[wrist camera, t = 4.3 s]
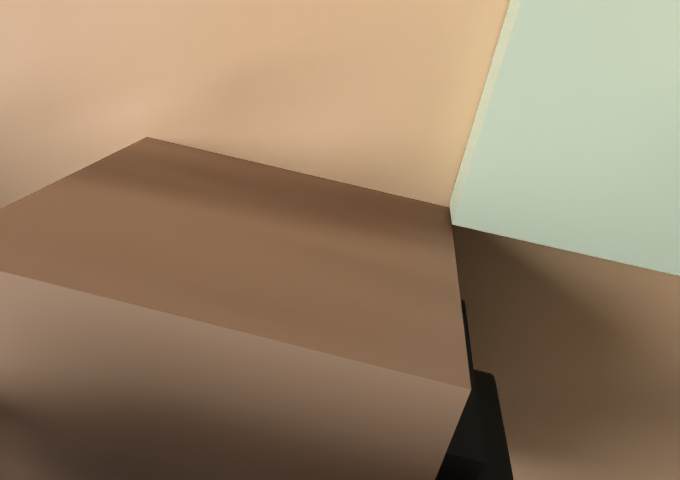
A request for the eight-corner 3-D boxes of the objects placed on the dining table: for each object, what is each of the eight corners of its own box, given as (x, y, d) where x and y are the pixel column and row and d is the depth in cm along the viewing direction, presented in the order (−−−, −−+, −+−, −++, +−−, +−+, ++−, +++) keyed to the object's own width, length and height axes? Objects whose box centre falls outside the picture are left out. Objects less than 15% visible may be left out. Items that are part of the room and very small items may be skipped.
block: (146, 137, 10) (-84, 250, 5) (449, 208, 10) (471, 389, 5) (142, 372, 13) (-14, 577, 8) (379, 433, 12) (353, 682, 8)
